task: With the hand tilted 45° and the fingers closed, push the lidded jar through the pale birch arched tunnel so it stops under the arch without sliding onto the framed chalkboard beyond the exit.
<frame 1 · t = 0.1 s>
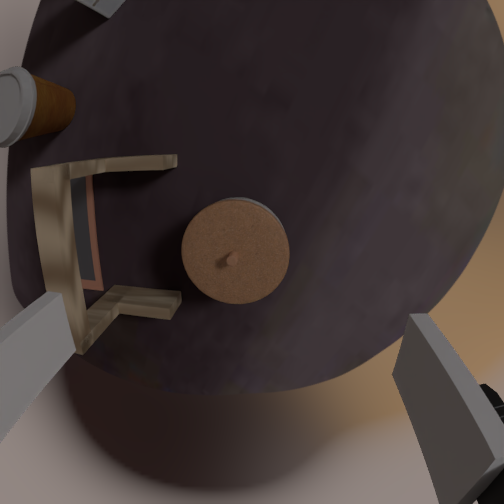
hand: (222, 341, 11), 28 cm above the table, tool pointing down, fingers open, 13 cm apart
lidded jar: (242, 234, 39), on the table
tunnel: (141, 230, 40), on the table
disposable coffee cup: (59, 109, 36), on the table
framed chalkboard: (78, 228, 41), on the table
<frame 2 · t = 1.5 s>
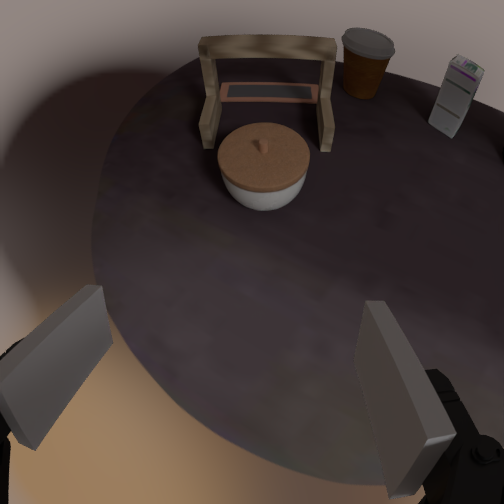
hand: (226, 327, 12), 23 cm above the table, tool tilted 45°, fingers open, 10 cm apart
lidded jar: (264, 192, 43), on the table
tunnel: (267, 127, 49), on the table
syrup box: (443, 125, 50), on the table
disposable coffee cup: (359, 90, 54), on the table
framed chalkboard: (269, 92, 53), on the table
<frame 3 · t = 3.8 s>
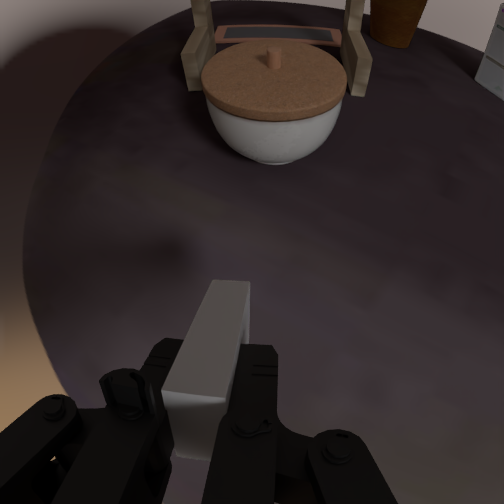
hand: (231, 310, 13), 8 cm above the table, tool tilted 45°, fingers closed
lidded jar: (274, 141, 28), on the table
tunnel: (277, 67, 33), on the table
syrup box: (490, 86, 34), on the table
disposable coffee cup: (389, 40, 38), on the table
framed chalkboard: (278, 34, 38), on the table
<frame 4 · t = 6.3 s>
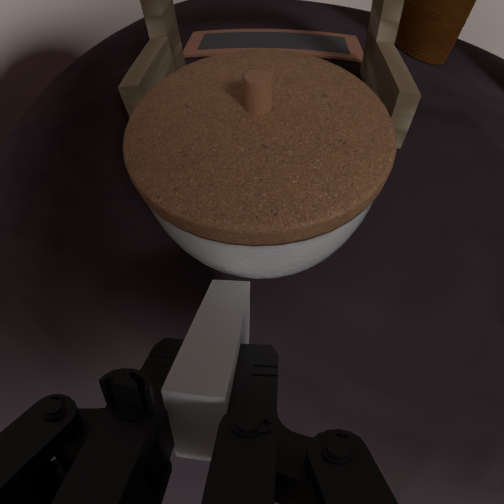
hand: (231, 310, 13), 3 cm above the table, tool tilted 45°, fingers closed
lidded jar: (262, 219, 19), on the table, touching gripper
tunnel: (270, 95, 23), on the table
disposable coffee cup: (420, 52, 28), on the table
framed chalkboard: (273, 42, 28), on the table
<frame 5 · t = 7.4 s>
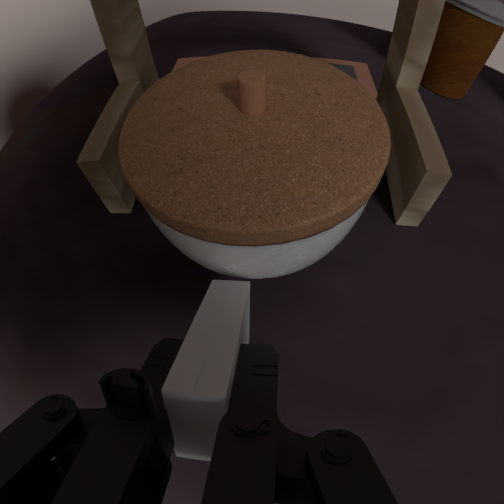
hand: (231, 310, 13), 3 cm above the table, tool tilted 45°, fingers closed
lidded jar: (258, 219, 19), on the table, touching gripper
tunnel: (265, 152, 21), on the table
disposable coffee cup: (437, 82, 25), on the table
framed chalkboard: (270, 73, 25), on the table
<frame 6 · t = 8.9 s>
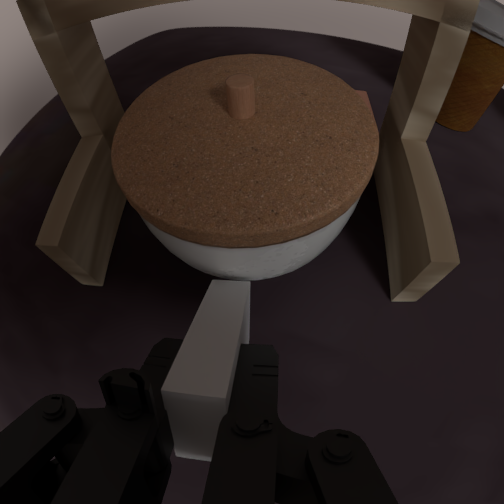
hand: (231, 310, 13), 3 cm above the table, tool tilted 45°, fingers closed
lidded jar: (251, 222, 19), on the table, touching gripper
tunnel: (248, 214, 19), on the table
disposable coffee cup: (444, 110, 24), on the table
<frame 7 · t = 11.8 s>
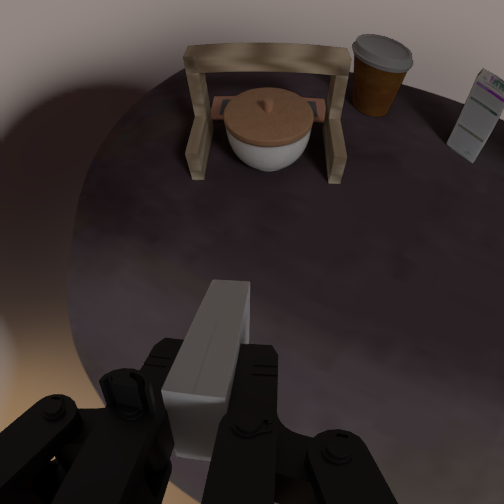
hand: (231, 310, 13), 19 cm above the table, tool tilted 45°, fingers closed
lidded jar: (268, 155, 43), on the table
tunnel: (267, 152, 43), on the table
syrup box: (462, 147, 44), on the table
disposable coffee cup: (370, 106, 48), on the table
framed chalkboard: (268, 108, 47), on the table
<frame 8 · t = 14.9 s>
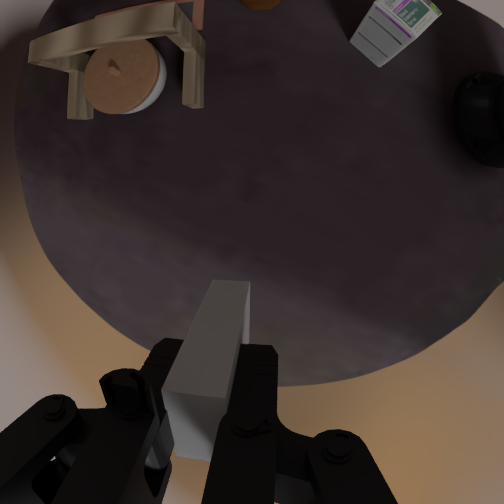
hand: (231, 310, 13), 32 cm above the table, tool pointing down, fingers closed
lidded jar: (142, 82, 40), on the table
tunnel: (140, 79, 40), on the table
syrup box: (374, 43, 36), on the table
framed chalkboard: (144, 20, 37), on the table
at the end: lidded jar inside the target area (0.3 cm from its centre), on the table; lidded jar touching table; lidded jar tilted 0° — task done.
